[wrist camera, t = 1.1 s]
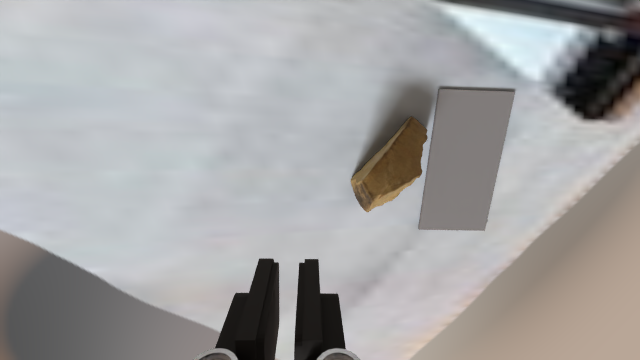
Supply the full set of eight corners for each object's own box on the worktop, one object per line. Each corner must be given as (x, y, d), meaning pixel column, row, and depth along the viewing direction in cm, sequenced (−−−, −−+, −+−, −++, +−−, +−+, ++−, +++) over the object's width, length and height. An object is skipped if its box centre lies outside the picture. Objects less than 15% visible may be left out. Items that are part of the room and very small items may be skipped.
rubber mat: (513, 91, 31) (515, 91, 31) (483, 229, 36) (484, 230, 36) (438, 89, 31) (439, 89, 31) (418, 228, 36) (419, 229, 35)
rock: (420, 85, 29) (327, 130, 28) (482, 141, 24) (369, 197, 23) (417, 154, 37) (345, 189, 37) (461, 206, 32) (379, 247, 32)
